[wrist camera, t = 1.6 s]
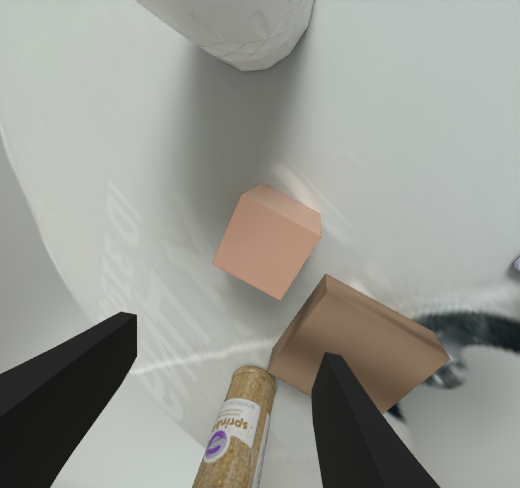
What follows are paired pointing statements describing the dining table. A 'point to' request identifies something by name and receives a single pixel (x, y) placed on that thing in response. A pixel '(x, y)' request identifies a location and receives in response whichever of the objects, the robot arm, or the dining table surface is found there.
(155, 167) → the dining table surface
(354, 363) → the walnut box
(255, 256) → the terracotta block
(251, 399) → the sprinkles bottle
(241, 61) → the white cup
